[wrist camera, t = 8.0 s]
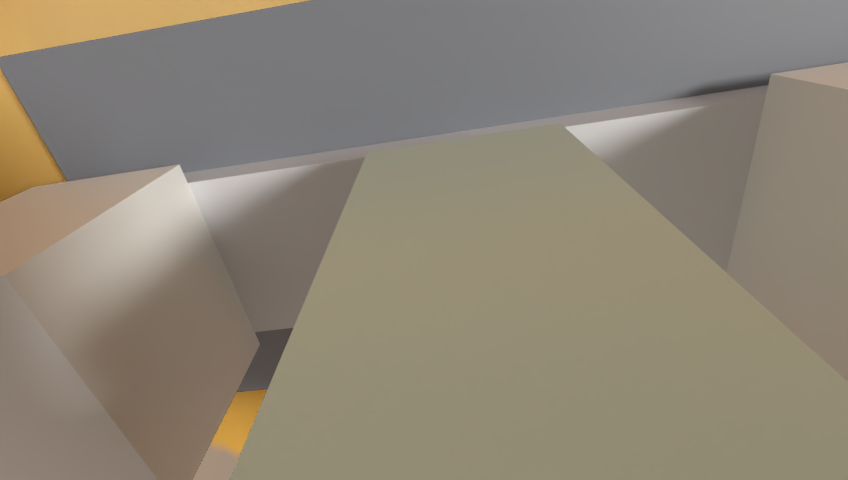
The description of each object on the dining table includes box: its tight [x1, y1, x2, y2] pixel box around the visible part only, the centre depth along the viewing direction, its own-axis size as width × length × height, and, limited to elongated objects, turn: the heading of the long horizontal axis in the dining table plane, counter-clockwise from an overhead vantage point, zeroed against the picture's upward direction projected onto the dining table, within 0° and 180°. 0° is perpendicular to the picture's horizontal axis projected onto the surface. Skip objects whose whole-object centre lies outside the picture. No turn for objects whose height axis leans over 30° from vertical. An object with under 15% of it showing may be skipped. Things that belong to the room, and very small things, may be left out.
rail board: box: [0, 0, 848, 480], centre depth 10 cm, size 22×12×7 cm, turn 99°
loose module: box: [230, 123, 848, 480], centre depth 7 cm, size 4×6×8 cm, turn 9°
